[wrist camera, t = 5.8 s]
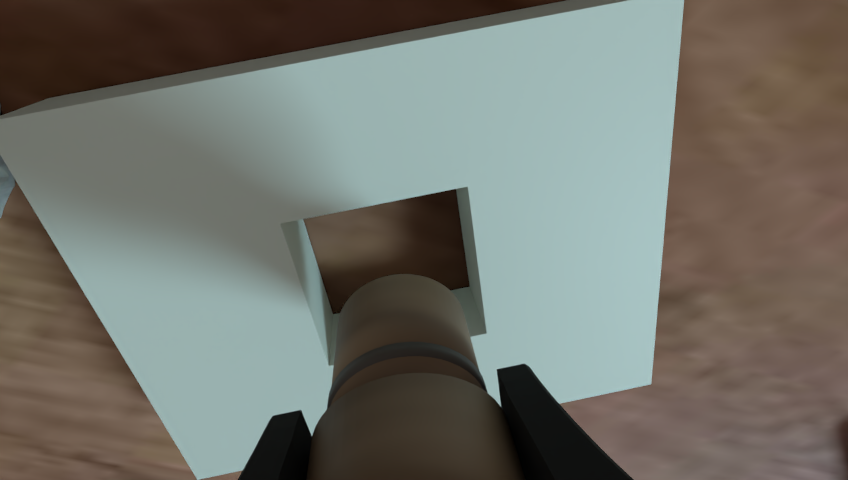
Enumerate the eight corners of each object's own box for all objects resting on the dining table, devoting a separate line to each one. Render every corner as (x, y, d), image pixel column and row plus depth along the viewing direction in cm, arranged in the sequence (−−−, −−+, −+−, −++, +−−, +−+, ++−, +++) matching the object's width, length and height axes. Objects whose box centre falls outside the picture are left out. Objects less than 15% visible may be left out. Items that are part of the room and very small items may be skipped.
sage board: (217, 418, 21) (197, 479, 19) (49, 97, 15) (-20, 123, 12) (615, 335, 22) (650, 384, 19) (628, -12, 15) (685, -11, 12)
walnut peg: (354, 396, 15) (334, 868, 7) (304, 287, 13) (195, 781, 5) (487, 362, 15) (619, 806, 7) (457, 246, 13) (596, 688, 5)
